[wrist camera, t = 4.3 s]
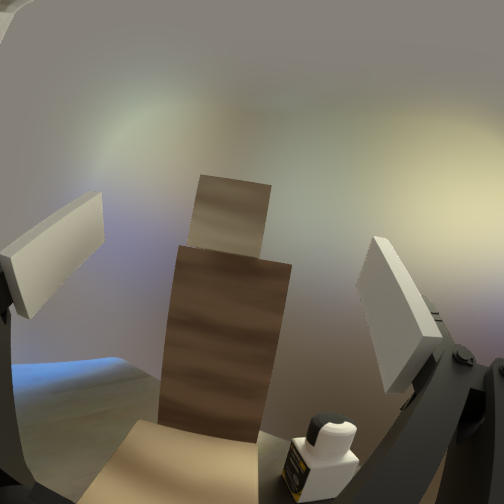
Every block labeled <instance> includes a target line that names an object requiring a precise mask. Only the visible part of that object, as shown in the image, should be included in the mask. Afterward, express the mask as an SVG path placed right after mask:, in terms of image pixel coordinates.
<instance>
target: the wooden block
mask: <svg viewBox="0 0 504 504" xmlns="http://www.w3.org/2000/svg"><path fill="white" fill-rule="evenodd" d="M270 192H271V185H266V184H259V183H254V182H248V181H241V180H235V179H228V178H221V177H214V176H207V175H200V178H199V184H198V188H197V193H196V198H195V203H194V208H193V214H192V219H191V224H190V230H189V235H188V241H187V246H192V247H196V248H201V249H205V250H210V251H215V252H220V253H226V254H232V255H238V256H244V257H250V258H255V259H258V258H259V257H260V251H261V246H262V239H263V234H264V228H265V222H266V216H267V210H268V203H269V198H270Z"/></svg>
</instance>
